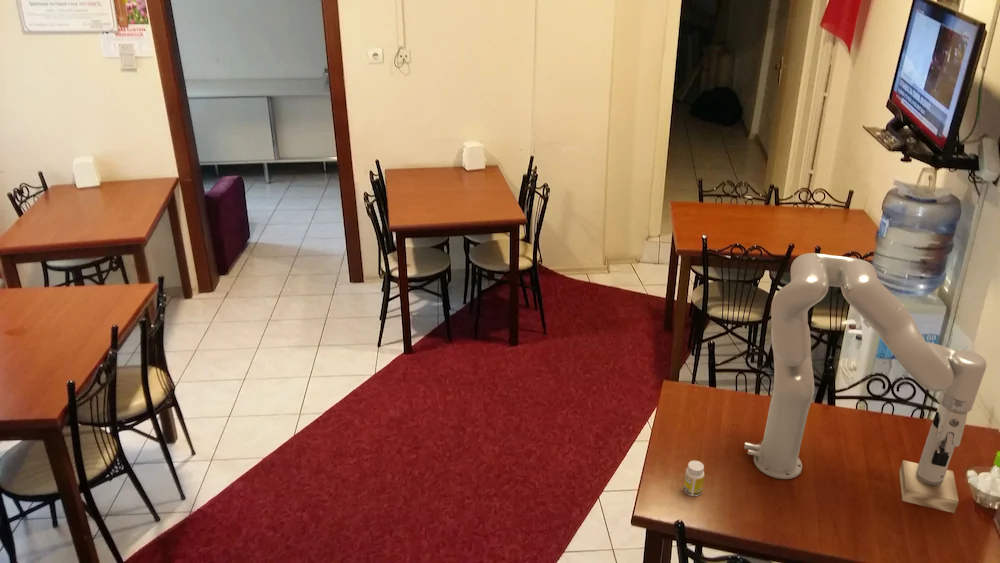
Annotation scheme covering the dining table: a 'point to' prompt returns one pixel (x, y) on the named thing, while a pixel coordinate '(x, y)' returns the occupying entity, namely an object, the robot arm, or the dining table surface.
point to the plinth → (928, 489)
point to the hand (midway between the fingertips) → (936, 455)
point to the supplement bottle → (694, 478)
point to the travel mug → (926, 468)
